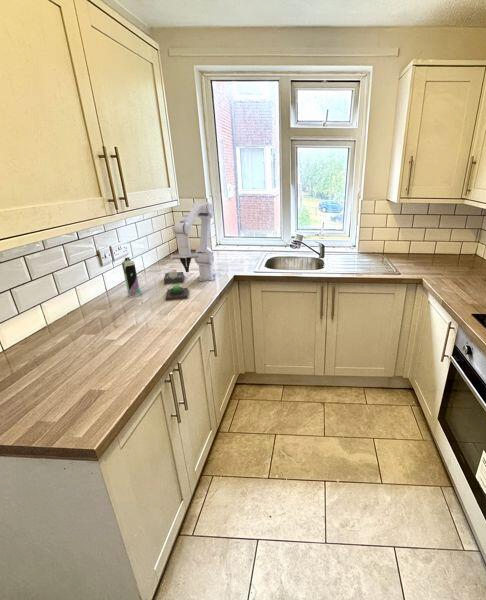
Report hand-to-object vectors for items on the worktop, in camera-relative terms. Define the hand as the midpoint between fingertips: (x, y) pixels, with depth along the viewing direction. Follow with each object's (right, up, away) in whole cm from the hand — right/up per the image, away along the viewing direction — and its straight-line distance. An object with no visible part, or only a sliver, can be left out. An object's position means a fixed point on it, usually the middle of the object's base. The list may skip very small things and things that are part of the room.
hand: (187, 271), depth 166 cm
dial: (-13, -2, +15) cm, 20 cm away
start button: (-4, -10, -5) cm, 12 cm away
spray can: (-26, -13, -4) cm, 29 cm away
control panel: (-14, -3, +18) cm, 24 cm away
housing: (-4, -13, -4) cm, 14 cm away
